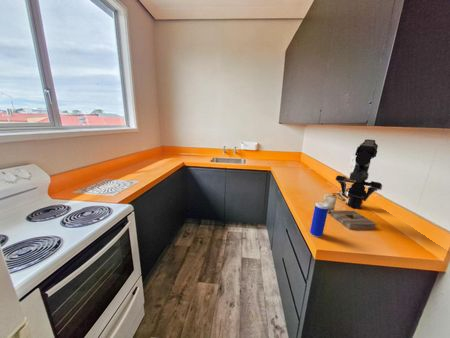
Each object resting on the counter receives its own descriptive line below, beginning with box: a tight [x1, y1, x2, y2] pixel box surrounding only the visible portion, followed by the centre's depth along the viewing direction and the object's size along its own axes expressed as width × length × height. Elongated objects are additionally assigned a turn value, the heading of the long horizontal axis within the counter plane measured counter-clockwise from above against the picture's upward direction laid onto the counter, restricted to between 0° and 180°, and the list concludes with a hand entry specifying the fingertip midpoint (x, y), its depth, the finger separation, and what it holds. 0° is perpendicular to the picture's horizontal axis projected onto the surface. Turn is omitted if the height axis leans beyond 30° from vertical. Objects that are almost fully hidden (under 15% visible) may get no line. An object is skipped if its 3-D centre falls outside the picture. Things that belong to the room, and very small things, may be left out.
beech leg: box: [322, 194, 337, 214], centre depth 105 cm, size 6×6×10 cm
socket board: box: [329, 209, 377, 230], centre depth 96 cm, size 14×14×3 cm
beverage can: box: [309, 201, 328, 238], centre depth 81 cm, size 5×5×15 cm
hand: (353, 198), depth 92 cm, fingers open, 9 cm apart
